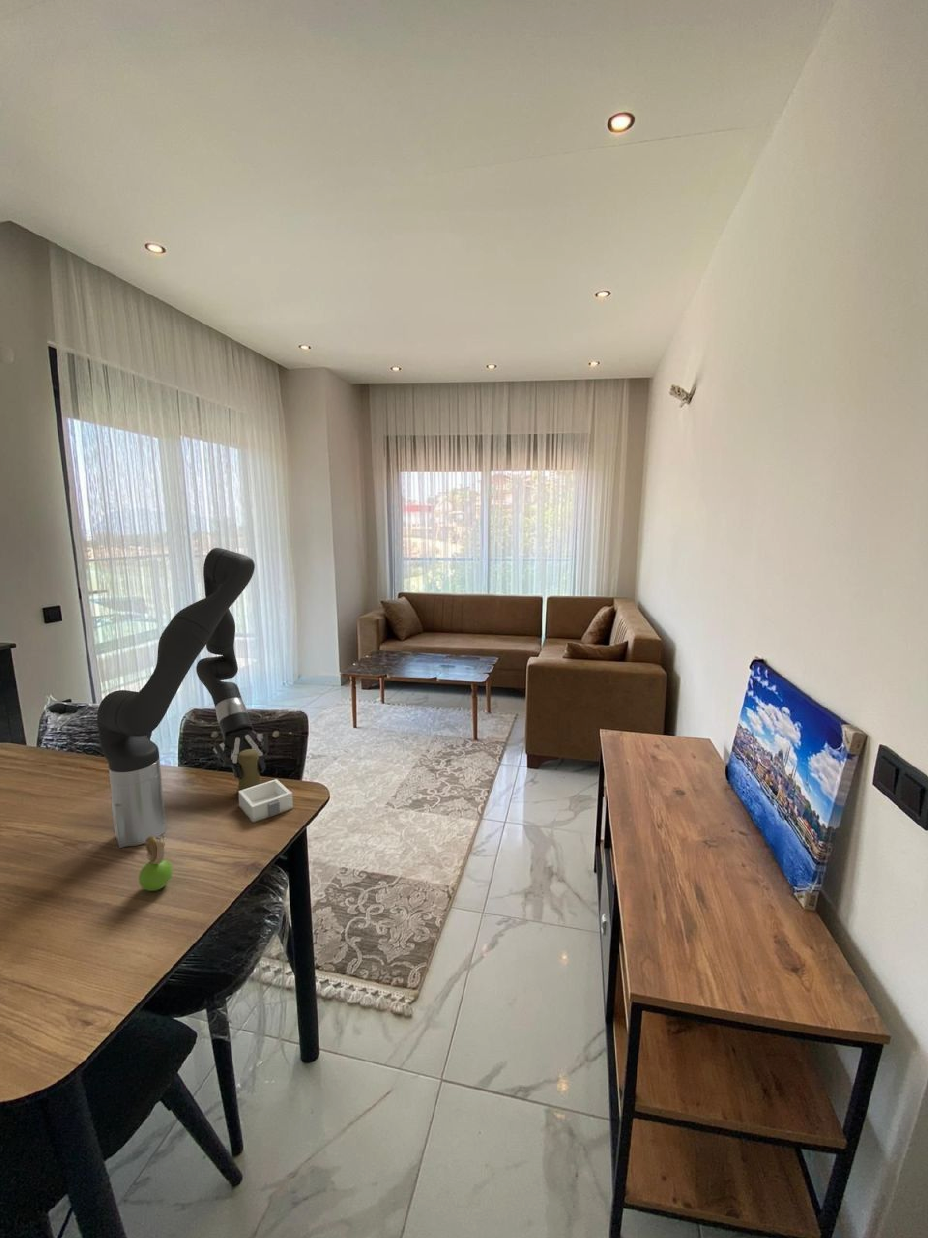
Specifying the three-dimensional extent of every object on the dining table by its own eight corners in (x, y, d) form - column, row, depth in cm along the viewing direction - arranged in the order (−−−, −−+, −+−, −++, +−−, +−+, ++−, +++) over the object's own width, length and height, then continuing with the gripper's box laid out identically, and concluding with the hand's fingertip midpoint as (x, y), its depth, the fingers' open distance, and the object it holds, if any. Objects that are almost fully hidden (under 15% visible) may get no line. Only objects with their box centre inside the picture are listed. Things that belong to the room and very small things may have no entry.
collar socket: (254, 824, 114) (253, 809, 113) (239, 806, 122) (238, 791, 121) (294, 809, 120) (293, 794, 120) (277, 793, 128) (276, 778, 127)
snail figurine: (152, 904, 89) (146, 844, 87) (134, 890, 92) (128, 832, 90) (182, 886, 94) (177, 829, 92) (164, 874, 97) (159, 818, 95)
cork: (253, 797, 126) (250, 757, 124) (232, 794, 127) (229, 755, 125) (267, 785, 132) (265, 747, 130) (247, 783, 133) (244, 745, 131)
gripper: (207, 717, 127) (225, 777, 120) (263, 705, 136) (282, 760, 130) (202, 731, 131) (219, 789, 125) (257, 718, 141) (275, 772, 134)
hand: (251, 774), depth 127 cm, fingers closed on cork, 5 cm apart
